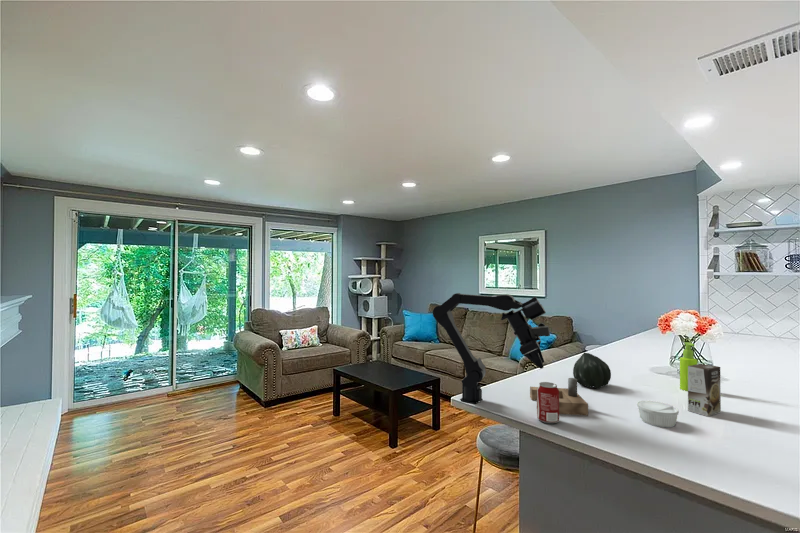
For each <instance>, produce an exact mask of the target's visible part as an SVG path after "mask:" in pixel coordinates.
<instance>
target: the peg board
mask: <svg viewBox="0 0 800 533" xmlns="http://www.w3.org/2000/svg"><path fill="white" fill-rule="evenodd" d="M567 380H568V381H567V384H568V385H567V387H568V388H566V387H565V388H562V387H561V388H560V387H557V388H558V390H559V415H571V416H572V415H573V416H575V415H576V416H587V417H588V416H589V404H588V402H587V401H586V400H584V397H583V398H582V396H580V394H578V382H577V379H575V378H574V377H568V378H567ZM538 387H539V386H530V387H529V397H530V399H531V400H532V401H537V388H538Z"/></svg>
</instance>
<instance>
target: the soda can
mask: <svg viewBox="0 0 800 533" xmlns="http://www.w3.org/2000/svg"><path fill="white" fill-rule="evenodd" d="M537 387H538V388H537V400H536V414H537V415H536V419H537V420H539V421H540V422H541V423H543V424H548V425H555V424H556V423H558V422H560V414H559V390H558V388H559V387H558V385H557V384H556V383H555V382H549V381H541V382H539V384H538V386H537Z"/></svg>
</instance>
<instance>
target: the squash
mask: <svg viewBox="0 0 800 533" xmlns="http://www.w3.org/2000/svg"><path fill="white" fill-rule="evenodd" d="M611 371H612V370H611V368H610V366H609V365H608V364H607V363H606V361H604V360H602V359H601V358H600V357H598V356H596V355H593V354H592V353H589V352H583V353H582V354H581V355H580V357H579V358H578V359H577V360H576V361H575V363H574V364H573V369H572V375H573V378H575V379H577V384H579V385H581V386H583V387H586V388H589V389H592V388H595V389H600V388H601V387H605V386H607V385H608V384H609V382H611V379H612V372H611Z"/></svg>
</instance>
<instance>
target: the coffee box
mask: <svg viewBox="0 0 800 533" xmlns="http://www.w3.org/2000/svg"><path fill="white" fill-rule="evenodd" d="M721 401H722V400H721V367H720V366H716V365H712V364H705V363H703V364H702V363H697V364H696V365H691V366H688V391H687V411H688V412H692V413H695V414H699V415H701V416H704V417H711V416H714V415H717V414H720V413H721V412H722V407H721V406H722V404H721V403H722V402H721Z"/></svg>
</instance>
